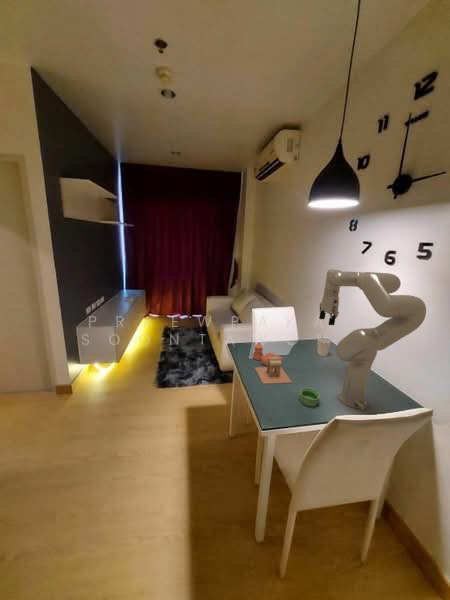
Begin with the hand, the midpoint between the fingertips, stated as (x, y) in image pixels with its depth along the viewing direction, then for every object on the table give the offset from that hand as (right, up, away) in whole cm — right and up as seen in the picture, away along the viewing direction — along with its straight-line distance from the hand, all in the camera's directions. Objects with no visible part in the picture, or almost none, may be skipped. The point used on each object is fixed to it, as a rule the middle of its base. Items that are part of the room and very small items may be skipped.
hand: (326, 321), depth 140 cm
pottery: (-32, -26, +14) cm, 44 cm away
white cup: (+9, -25, +29) cm, 39 cm away
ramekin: (-17, -36, -21) cm, 46 cm away
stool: (-30, -29, -1) cm, 42 cm away
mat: (-31, -30, -1) cm, 43 cm away
